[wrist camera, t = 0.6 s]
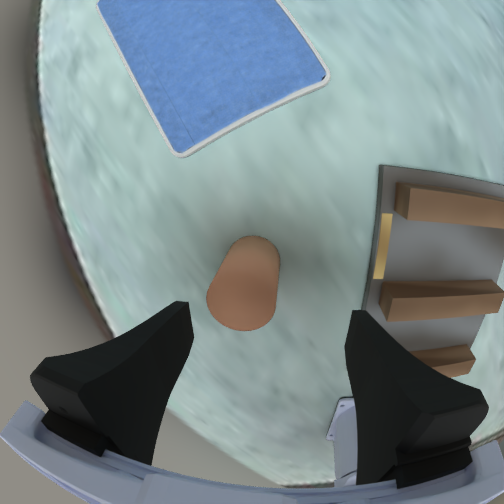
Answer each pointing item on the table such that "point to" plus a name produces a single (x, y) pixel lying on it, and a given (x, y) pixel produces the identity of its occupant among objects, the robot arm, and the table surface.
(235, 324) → the terracotta plug
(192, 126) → the tablet computer
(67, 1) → the table surface
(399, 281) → the comb rack
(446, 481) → the robot arm
